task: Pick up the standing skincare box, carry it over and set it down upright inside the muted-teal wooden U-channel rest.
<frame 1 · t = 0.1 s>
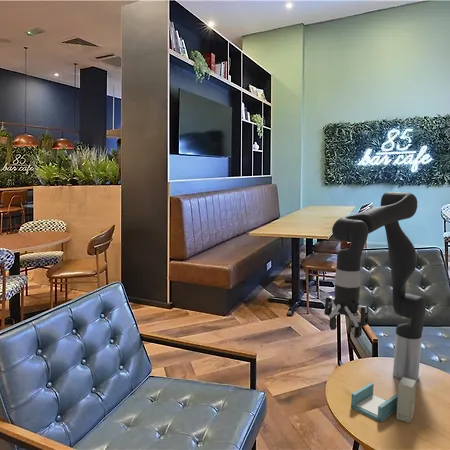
hand: (344, 333, 131), 29 cm above the table, fingers open, 8 cm apart
skincare box: (404, 417, 137), on the table
u rest: (374, 408, 142), on the table
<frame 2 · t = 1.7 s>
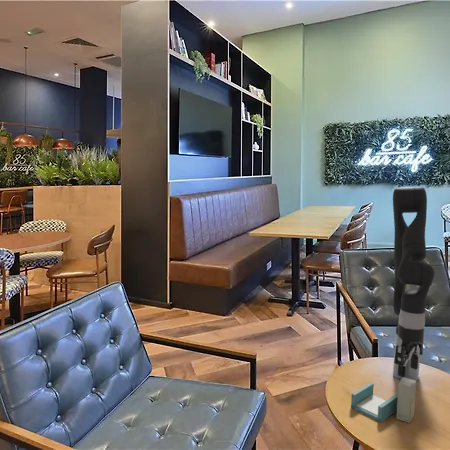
hand: (407, 372, 135), 15 cm above the table, fingers open, 8 cm apart
nothing on the table moved.
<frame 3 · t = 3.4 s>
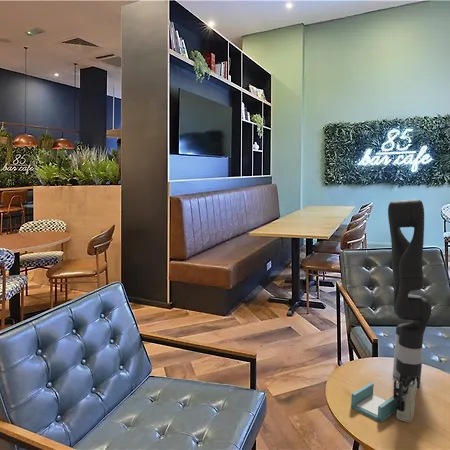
hand: (405, 406, 136), 4 cm above the table, fingers closed on skincare box, 7 cm apart
skincare box: (405, 417, 137), on the table, touching gripper
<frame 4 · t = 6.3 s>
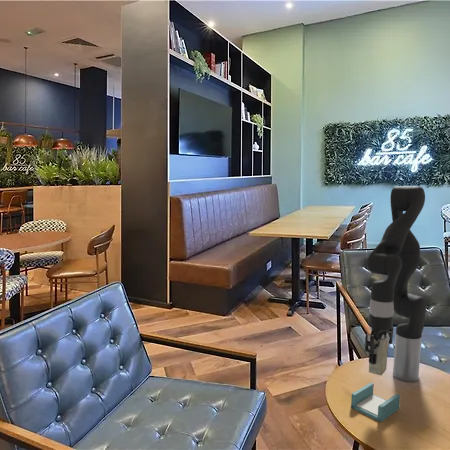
hand: (378, 360, 140), 17 cm above the table, fingers closed on skincare box, 7 cm apart
skincare box: (377, 371, 140), point 13 cm above the table, touching gripper
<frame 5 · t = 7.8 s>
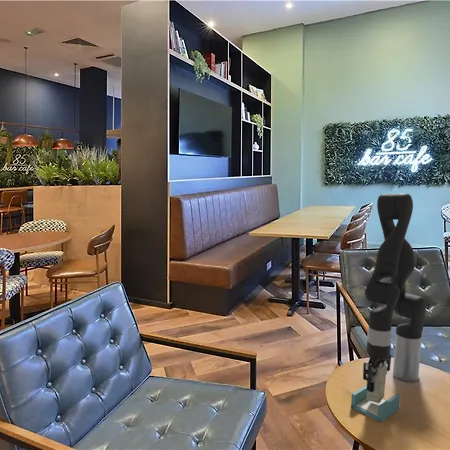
hand: (375, 387, 141), 7 cm above the table, fingers closed on skincare box, 7 cm apart
skincare box: (375, 398, 141), point 3 cm above the table, touching gripper
when the fingers open (6 cm above the table, at t = 9.1 s): skincare box drops 1 cm, resting on u rest.
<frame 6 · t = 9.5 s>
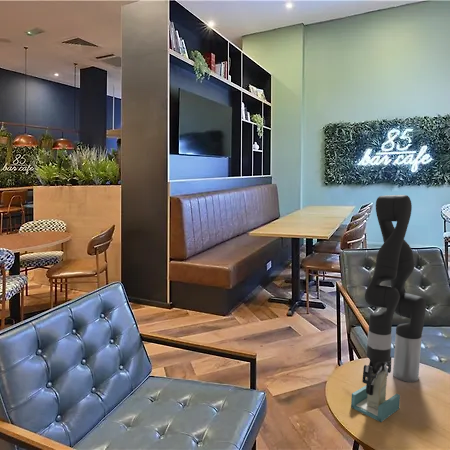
hand: (376, 389, 141), 7 cm above the table, fingers open, 8 cm apart
skincare box: (375, 404, 142), point 1 cm above the table, touching u rest
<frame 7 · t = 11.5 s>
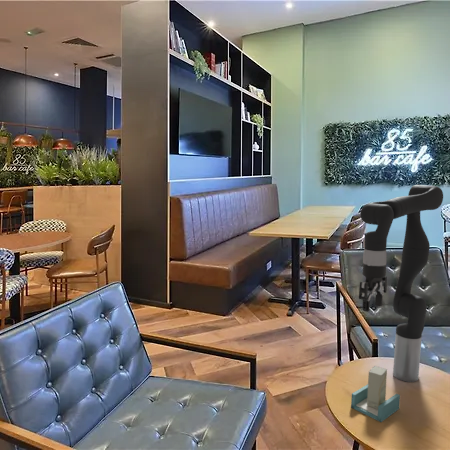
hand: (372, 308, 144), 33 cm above the table, fingers open, 8 cm apart
nothing on the table moved.
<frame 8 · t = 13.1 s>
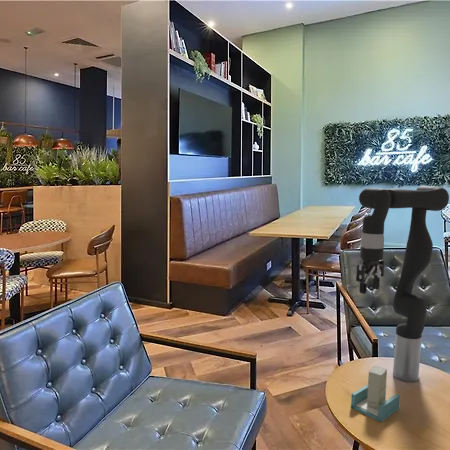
hand: (369, 291, 147), 38 cm above the table, fingers open, 8 cm apart
nothing on the table moved.
at the end: skincare box 0.5 cm from the u rest (horizontally); skincare box tilted 0°; the gripper is holding nothing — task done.
